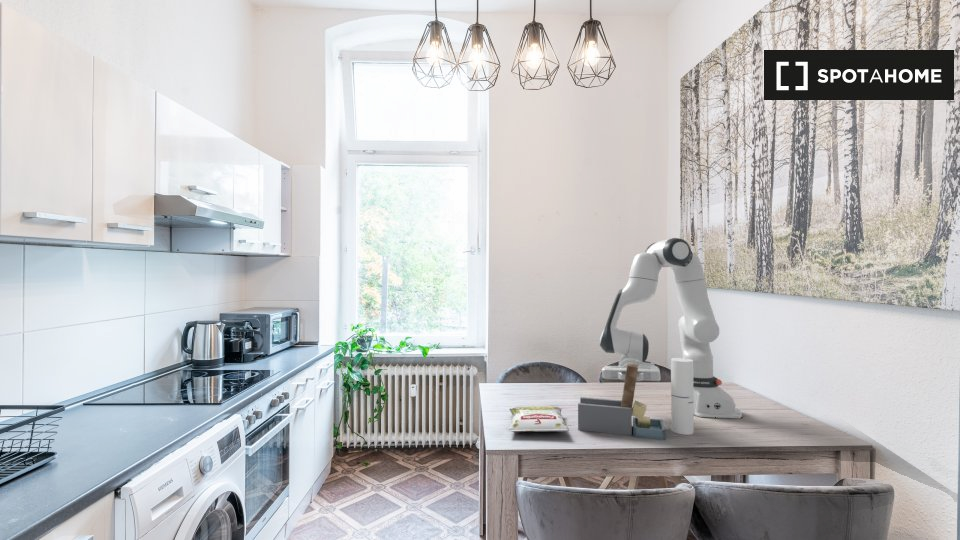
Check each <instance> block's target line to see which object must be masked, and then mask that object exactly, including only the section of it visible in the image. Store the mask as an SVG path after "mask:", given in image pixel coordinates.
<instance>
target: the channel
mask: <svg viewBox="0 0 960 540" xmlns="http://www.w3.org/2000/svg"><path fill="white" fill-rule="evenodd" d="M579 399H580V400H579V402H578V404H577V430H578V431H587V432H596V433H597V432H598V433H606V434H614V435H615V434H616V435H624V436H633V416H632V408H629V407H621V403H622V399H608V398H598V397H597V398H596V397H587V396H581V397H579Z"/></svg>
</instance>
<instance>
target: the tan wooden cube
mask: <svg viewBox="0 0 960 540" xmlns="http://www.w3.org/2000/svg"><path fill="white" fill-rule="evenodd" d="M650 419H651V417H650V416H643V419H640V418H638V427H639V428H649V429H650Z"/></svg>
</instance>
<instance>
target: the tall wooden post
mask: <svg viewBox="0 0 960 540" xmlns="http://www.w3.org/2000/svg"><path fill="white" fill-rule="evenodd" d="M637 371H638V365H635V364H629V363H627V369H626V376H625V381H624V383H623V390H622V398H621V400H622V403H621V407H629V408H632V407H633V405H634V398H635V392H636V391H635V390H636V383H637V381H636V378H637Z"/></svg>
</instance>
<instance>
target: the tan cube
mask: <svg viewBox="0 0 960 540" xmlns="http://www.w3.org/2000/svg"><path fill="white" fill-rule="evenodd" d="M646 411H647V404H646V403H642V402H641V401H638V400H634V401H633V405H632V415H633V416H632V417H634V416H635V417H638V418H640V419H643V416H644V415H645V413H646ZM644 417H645V416H644Z"/></svg>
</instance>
